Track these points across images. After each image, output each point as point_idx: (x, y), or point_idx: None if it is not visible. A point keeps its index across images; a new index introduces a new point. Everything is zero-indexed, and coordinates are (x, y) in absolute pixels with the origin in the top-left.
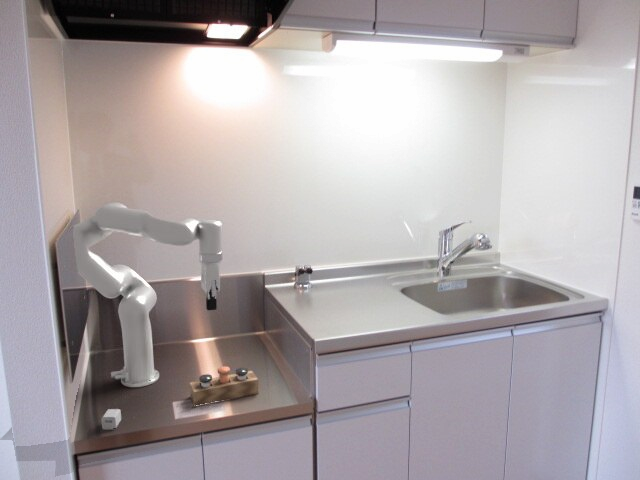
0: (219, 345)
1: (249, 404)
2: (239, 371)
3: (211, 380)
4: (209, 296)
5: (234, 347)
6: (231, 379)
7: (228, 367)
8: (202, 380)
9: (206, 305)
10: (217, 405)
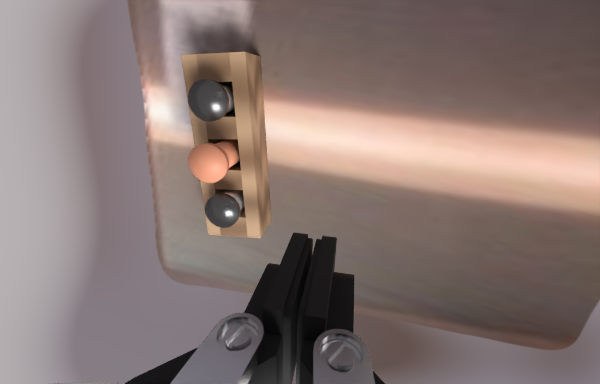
0: (580, 222)
1: (183, 184)
2: (215, 204)
3: (237, 121)
4: (196, 365)
5: (526, 256)
6: (227, 175)
7: (215, 180)
8: (191, 86)
9: (322, 254)
10: None
